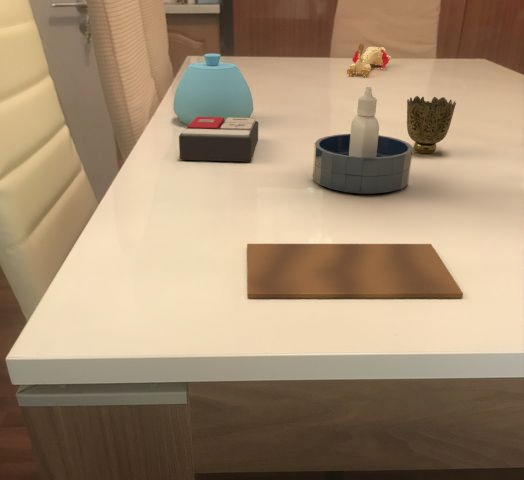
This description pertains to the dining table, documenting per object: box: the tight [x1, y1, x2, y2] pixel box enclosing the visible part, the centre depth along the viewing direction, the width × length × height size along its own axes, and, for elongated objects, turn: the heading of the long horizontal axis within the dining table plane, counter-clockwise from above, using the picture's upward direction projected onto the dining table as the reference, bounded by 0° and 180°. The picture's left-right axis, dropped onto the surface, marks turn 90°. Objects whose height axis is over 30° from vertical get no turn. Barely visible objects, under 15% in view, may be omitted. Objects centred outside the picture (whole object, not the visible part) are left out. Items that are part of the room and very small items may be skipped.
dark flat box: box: [178, 117, 259, 163], centre depth 103 cm, size 11×4×15 cm
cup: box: [406, 95, 457, 155], centre depth 102 cm, size 8×7×8 cm
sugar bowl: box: [173, 53, 254, 126], centre depth 119 cm, size 15×15×12 cm
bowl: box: [312, 133, 414, 195], centre depth 89 cm, size 13×13×5 cm
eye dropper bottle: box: [349, 86, 380, 157], centre depth 87 cm, size 4×6×12 cm
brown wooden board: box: [246, 243, 464, 299], centre depth 64 cm, size 20×12×1 cm, turn 91°
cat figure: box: [346, 43, 392, 77], centre depth 175 cm, size 10×9×25 cm
